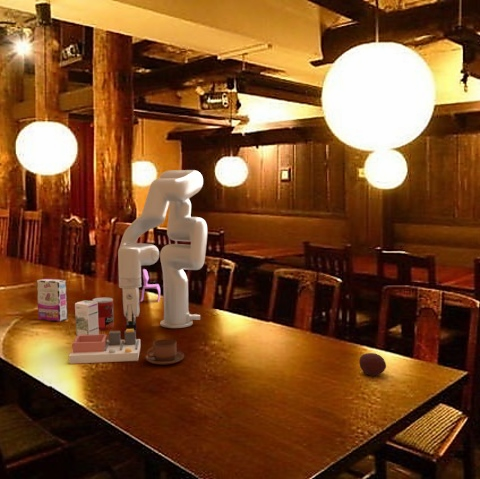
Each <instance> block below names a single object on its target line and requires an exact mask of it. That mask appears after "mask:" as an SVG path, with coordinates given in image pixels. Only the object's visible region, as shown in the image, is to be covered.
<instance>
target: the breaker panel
mask: <svg viewBox="0 0 480 479" xmlns="http://www.w3.org/2000/svg"><path fill="white" fill-rule="evenodd" d="M140 352H141V339H140V338H136V343H135V344H130V345H125V339H121V343H120V345H109V339H108V334H107V333H106V334H105V333H104V334H103V333H99V334H98V335H77V337H75V338H74V340H73V342H72V350H71V351H70V354H69V355H68V362H69V363H68V364H91V363H113V362H114V363H115V362H116V363H117V362H139V356H140Z"/></svg>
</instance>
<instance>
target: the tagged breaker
mask: <svg viewBox="0 0 480 479" xmlns="http://www.w3.org/2000/svg"><path fill="white" fill-rule="evenodd" d="M136 339H137V329H136V330H134V329H126V330H124V340H125V345H130V344H135V343H136Z"/></svg>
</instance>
